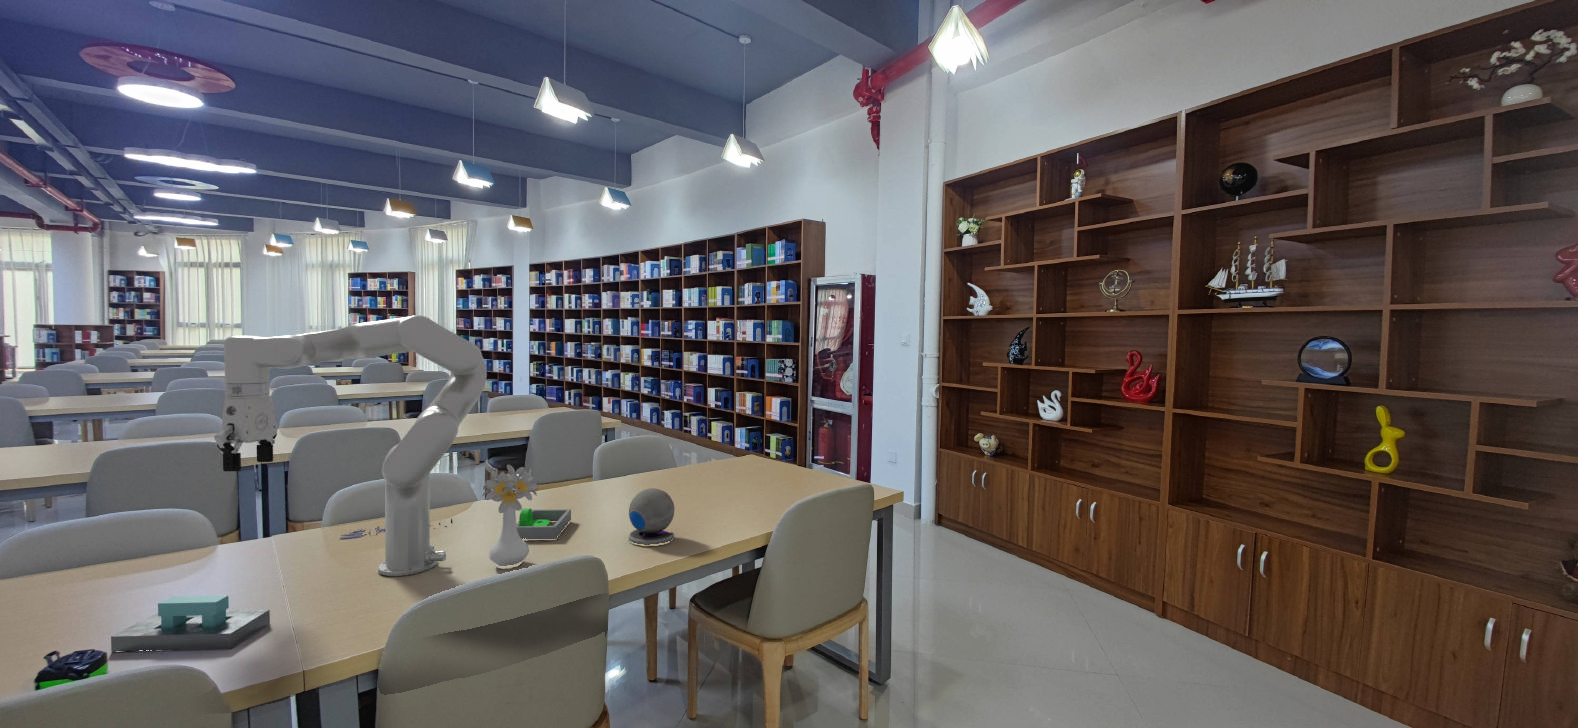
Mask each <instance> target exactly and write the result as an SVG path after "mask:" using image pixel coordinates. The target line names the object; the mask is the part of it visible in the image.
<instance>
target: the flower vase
mask: <svg viewBox="0 0 1578 728" xmlns="http://www.w3.org/2000/svg"><path fill="white" fill-rule="evenodd" d="M506 469H507V471H508V473H505V472H504V471H501V472H500V473H499V474H498V469H493V470H492V471H491V473H490V479H487V480H485V483H484V485H483V487H482V490H485V491H484V492H483V493H482V495H481V497H484V496H485V495H486V496H485V500H486V501H489V500H492V501H494V502H500V504H499V506H498V513H499V514H502V527H501V533H500V535H499V537H498V538H497V541H496V542H495V543H494V544H493V545H492V547H490V549H489V555H488V556H489V559H490V560H491V562H493V563H494V564H495V565H496V564H497V565H499V566H507V565H514V564H517V563H519V562H521V561H522V562H523V561H524V560H525V559H526V558H527V556H528V555H529V553H530V549H529V546H528V543H527V541H523V540H522V539H521V538H520V536H519V534H518V532H517V528H516V524H517V518H516V517H517V515H516V511H519V512H520V511H521V510H522V509H523V507H522V504H521V502H520V501H519V500H521V499H522V498H524V497H525V498H526V499H527V500H528V501H532V500H533V495H532V493H533V494H534V495H535V496H538V494H537V491H536V490H537V489H538V488H539V485H538V484H537V483H535V481H534V480H535V479H534V476H532V468H529V472H528V471H526V468H525V467H522V466H521V467H519V468H518V469H517V470H516V471H515V468H514V467H513V466H512V465H511V464H506ZM513 486H515V488H513Z"/></svg>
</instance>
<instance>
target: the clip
mask: <svg viewBox="0 0 1578 728" xmlns="http://www.w3.org/2000/svg"><path fill="white" fill-rule="evenodd" d="M229 599H230V598H229V595H197V596H196V595H191V596H190V595H189V596H187V595H185V596H183V595H182V596H170V597H168V598H167V599H164V600H162V601H160V602H158V603H157V614H158V616H161V629H166V628H176V627H177V626H179V625H181V624H183V623H185V622H187V616H196V615H202V628H206V627H216V626H218V625H219V624H221V623H223V622H225V621H226V611H227V610H228V609H229V607H230V605H229Z"/></svg>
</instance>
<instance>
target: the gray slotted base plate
mask: <svg viewBox="0 0 1578 728" xmlns="http://www.w3.org/2000/svg"><path fill="white" fill-rule="evenodd" d="M270 615H271V613H270V609H239V610H235V609H234V610H226V621H225V622H223V623H221V624H219V625H218V626H216V627H206V628H202V615H196V616H187V622H185V623H183V624H181V625H179V626H177V627H176V628H166V629H161V616H158V613H155V614H154V615H152V616H150V617H148V618H145V619H143V620H141V621H139V622H138V623H136V624H134V625H132V626H129V627H127V628H125V629H123V630H121V631H119V632H117V633H115V634H113V635H111V636H110V648H111V649H110V651H111V652H116V651H139V650H143V651H146V650H149V651H150V650H152V651H151V652H157V651H156V650H172V651H171V652H177V651H178V652H182V651H212V650H214V651H216V650H217V651H218V650H220V651H221V650H232V649H233V648H235V647H236V646H238V645H240V644H241V643H243V642H244V641H246V640H247V639H249V638H251V637H253V636H254V635H255V634H257V633H259V632H260V631H262V630H263V629H264V628H266V627H267V626H269V625H271V618H270V617H271V616H270ZM111 652H110V653H111ZM116 653H117V652H116Z"/></svg>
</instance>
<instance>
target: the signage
mask: <svg viewBox="0 0 1578 728" xmlns="http://www.w3.org/2000/svg"><path fill="white" fill-rule="evenodd" d="M376 529H377V530H376ZM357 530H358V531H359V530H360V531H362V530H363V529H357ZM375 530H376V532H377V531H384V532H385V527H383V528H379V527H377V528H375ZM358 531H354V532H355V533H350V532H349V533H350V534H348V535H357V536H340V537H339V540H340V539H342V540H351V539H352V538H353V539H359V538H361V537H360V536H363V535H362V534H363V533H364V532H358ZM363 531H364V530H363ZM369 531H370V530H369ZM370 532H371V531H370ZM377 533H378V532H377ZM346 535H347V534H346ZM358 537H359V538H358ZM363 537H364V536H363Z"/></svg>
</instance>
